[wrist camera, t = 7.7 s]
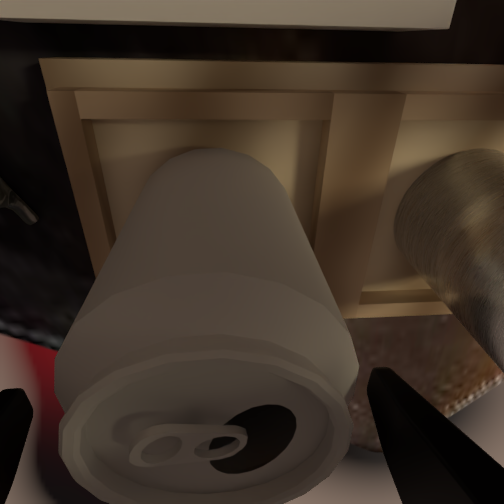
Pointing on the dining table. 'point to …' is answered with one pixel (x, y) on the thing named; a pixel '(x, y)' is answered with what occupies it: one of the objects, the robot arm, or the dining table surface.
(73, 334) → the can
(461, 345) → the dining table surface
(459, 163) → the steel billet
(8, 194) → the mobile phone
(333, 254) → the wooden divided tray
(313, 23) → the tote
